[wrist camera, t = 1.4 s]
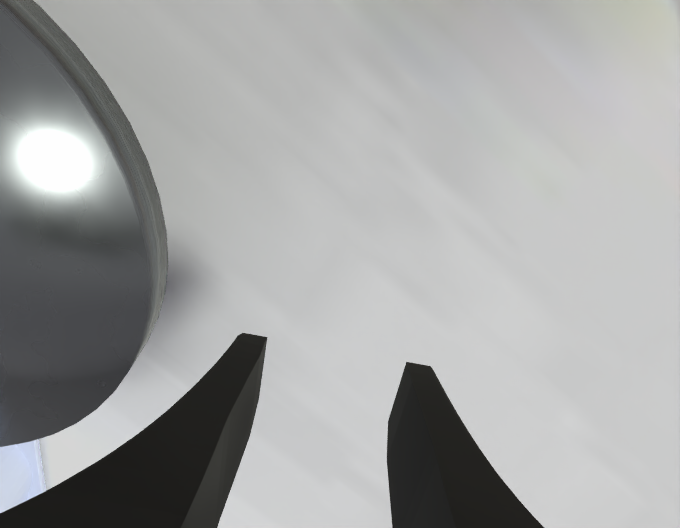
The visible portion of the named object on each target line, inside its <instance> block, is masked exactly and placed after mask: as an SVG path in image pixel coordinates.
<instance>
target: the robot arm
mask: <svg viewBox="0 0 680 528" xmlns="http://www.w3.org/2000/svg"><path fill="white" fill-rule="evenodd" d="M266 342H267V337H263V336H257V335H251V334H246V333H242V334H240V335H238V336H237V338H236V339H235V341H234V342H233V343H232V345H231V346H230V347H229V348H228V350H227V351H226V352H225V353H224V354H223V356H222V357H221V358H220V359H219V360H218V361H217V363H216V364H215V365H214V366H213V367H212V368H211V369H210V370H209V371H208V372H207V373H206V374H205V375H204V376H203V377H202V378H201V379H200V381H199V382H198V383H197V384H196V385H195V386H194V387H193V388H192V389H190V390H189V391H188V392H187V393H186V394H185V395H184V396H183V397H182V398H181V399H180V400H179V401H177V402H176V403H175V404H174V405H173V406H172V407H171V408H170V409H169V410H167V411H166V412H165V413H164V414H163V415H161V416H160V417H159V418H158V419H157V420H155V421H154V422H153V423H152V424H150V425H149V426H148V427H146V428H145V429H144V430H142V431H141V432H140V433H139V434H137V435H136V436H134V437H133V438H132V439H130V440H129V441H127V442H126V443H124V444H123V445H122V446H120V447H119V448H117V449H116V450H114V451H113V452H111V453H110V454H108V455H107V456H105V457H104V458H102V459H101V460H99V461H98V462H96V463H94V464H93V465H91V466H89V467H87V468H86V469H84V470H82V471H81V472H79V473H77V474H75V475H74V476H72V477H70V478H69V479H67V480H65V481H63V482H62V483H60V484H58V485H56V486H55V487H53V488H51V489H49V490H47V491H46V486H45V479H44V472H43V465H42V459H41V452H40V445H39V439H37V440H34V441H30V442H26V443H20V444H15V445H10V446H4V447H0V528H217V526H218V523H219V520H220V517H221V514H222V512H223V509H224V506H225V503H226V501H227V498H228V495H229V492H230V490H231V487H232V484H233V481H234V478H235V476H236V473H237V470H238V467H239V465H240V462H241V459H242V456H243V453H244V451H245V448H246V445H247V442H248V439H249V437H250V433H251V429H252V425H253V420H254V416H255V412H256V408H257V404H258V400H259V393H260V386H261V378H262V371H263V364H264V357H265V349H266ZM387 466H388V479H389V491H390V503H391V514H392V525H393V528H544V527H543V526H542V525H541V524H540V523H539V522H538V521H537V520H536V519H535V518H534V517H533V516H532V514H531V513H530V512H529V511H528V510H527V509H526V508H525V507H524V505H523V504H522V503H521V502H520V501H519V500H518V499H517V497H516V496H515V495H514V494H513V492H512V491H511V490H510V489H509V488H508V486H507V485H506V484H505V483H504V481H503V480H502V479H501V478H500V476H499V475H498V474H497V473H496V471H495V470H494V468H493V467H492V466H491V464H490V463H489V461H488V460H487V459H486V457H485V456H484V454H483V453H482V451H481V450H480V449H479V447H478V446H477V444H476V443H475V441H474V439H473V438H472V436H471V435H470V433H469V432H468V430H467V428H466V427H465V425H464V424H463V422H462V420H461V419H460V417H459V415H458V414H457V412H456V410H455V409H454V407H453V405H452V403H451V402H450V400H449V398H448V396H447V395H446V393H445V391H444V389H443V387H442V385H441V384H440V382H439V380H438V378H437V376H436V374H435V372H434V371H433V369H432V368H431V366H426V365H421V364H415V363H409V362H406V366H405V369H404V372H403V375H402V379H401V382H400V385H399V388H398V391H397V395H396V398H395V401H394V404H393V408H392V411H391V414H390V417H389V421H388V440H387Z"/></svg>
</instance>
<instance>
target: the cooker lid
mask: <svg viewBox="0 0 680 528" xmlns="http://www.w3.org/2000/svg"><path fill="white" fill-rule="evenodd" d="M167 269H168V252H167V234H166V227H165V222H164V217H163V212H162V207H161V201H160V197H159V194H158V191H157V188H156V185H155V182H154V179H153V176H152V173H151V170H150V167H149V164H148V161H147V158H146V156H145V154H144V152H143V150H142V148H141V146H140V143H139V141H138V139H137V137H136V135H135V133H134V131H133V129H132V126H131V124H130V122H129V121H128V119H127V117H126V116H125V114H124V112H123V111H122V109H121V108H120V106H119V104H118V103H117V101H116V99H115V98H114V96H113V95H112V93H111V91H110V90H109V88H108V86H107V85H106V83H105V82H104V81H103V79H102V78H101V77H100V75H99V74H98V73H97V71H96V70H95V69H94V68H93V66H92V65H91V64H90V62H89V61H88V60H87V58H86V57H85V56H84V54H83V53H82V52H81V51H80V49H79V48H78V47H77V45H76V44H75V43H74V42H73V41H72V40H71V39H70V38H69V37H68V36H67V35H66V34H65V32H64V31H63V30H62V29H61V28H60V27H59V26H58V25H57V24H56V23H55V22H54V21H53V20H52V19H51V18H50V17H49V15H48V14H47V13H46V12H45V11H44V10H43V9H42V8H41V7H40V6H39V5H38V4H36V3H35V2H34V1H33V0H0V447H4V446H10V445H15V444H20V443H26V442H30V441H34V440H37V439H40V438H43V437H46V436H49V435H52V434H55V433H57V432H59V431H61V430H63V429H65V428H67V427H69V426H71V425H74V424H76V423H77V422H79V421H80V420H82V419H83V418H84V417H86V416H87V415H89V414H90V413H92V412H93V411H95V410H96V409H97V408H98V407H99V406H100V405H101V404H102V403H103V402H104V401H105V400H106V399H107V398H108V397H109V396H110V395H111V394H112V393H113V392H114V391H115V390H116V388H117V387H118V386H119V384H120V383H121V381H122V380H123V378H124V377H125V376H126V374H127V373H128V371H129V370H130V368H131V367H132V365H133V363H134V362H135V360H136V359H137V357H138V355H139V354H140V352H141V351H142V349H143V347H144V346H145V344H146V343H147V341H148V339H149V337H150V335H151V332H152V330H153V328H154V326H155V324H156V322H157V319H158V317H159V313H160V310H161V306H162V302H163V298H164V295H165V289H166V279H167Z"/></svg>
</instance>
